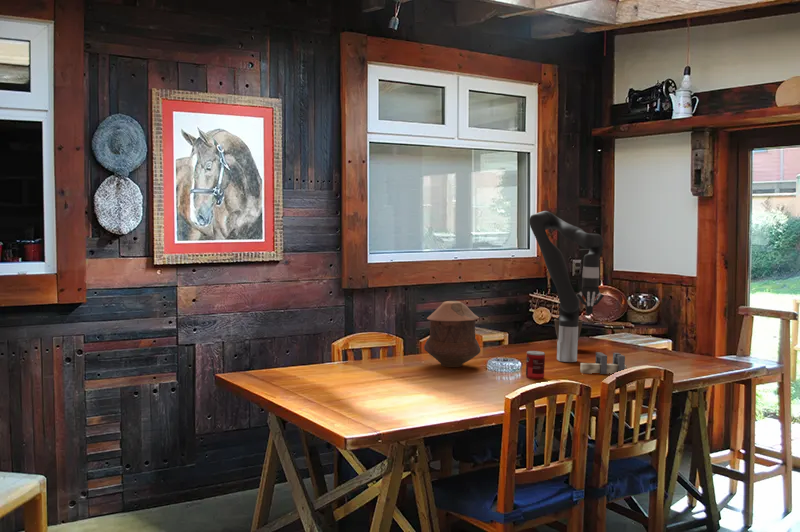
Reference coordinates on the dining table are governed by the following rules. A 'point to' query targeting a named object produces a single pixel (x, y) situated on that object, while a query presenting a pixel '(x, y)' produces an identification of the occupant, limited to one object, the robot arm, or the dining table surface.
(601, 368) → the iron collars
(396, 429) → the dining table surface
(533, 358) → the canned food
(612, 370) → the ash bar
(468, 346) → the pottery vessel
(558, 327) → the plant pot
